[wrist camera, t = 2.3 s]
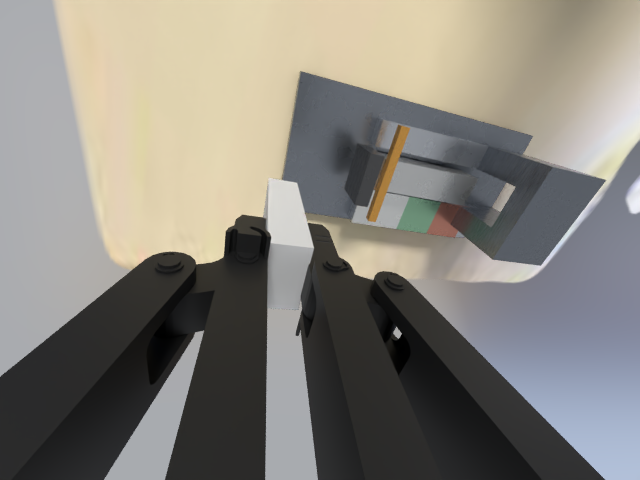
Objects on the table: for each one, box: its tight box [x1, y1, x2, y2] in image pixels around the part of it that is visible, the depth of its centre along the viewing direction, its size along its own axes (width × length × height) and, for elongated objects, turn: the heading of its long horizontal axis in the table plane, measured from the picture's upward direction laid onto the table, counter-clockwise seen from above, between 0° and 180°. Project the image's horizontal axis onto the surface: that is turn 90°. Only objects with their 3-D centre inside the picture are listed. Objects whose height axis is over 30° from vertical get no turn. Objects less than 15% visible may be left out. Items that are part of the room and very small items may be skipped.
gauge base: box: [282, 71, 606, 266], centre depth 26 cm, size 13×26×10 cm, turn 77°
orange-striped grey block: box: [344, 125, 478, 222], centre depth 26 cm, size 9×13×6 cm
